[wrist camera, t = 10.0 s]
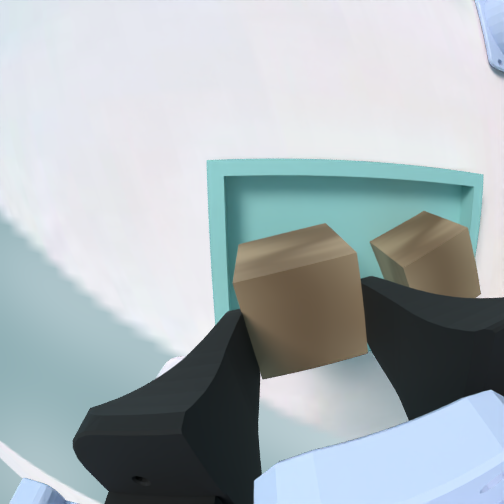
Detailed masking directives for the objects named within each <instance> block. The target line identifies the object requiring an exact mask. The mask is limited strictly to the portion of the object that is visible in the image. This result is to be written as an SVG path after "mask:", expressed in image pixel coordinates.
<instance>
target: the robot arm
mask: <svg viewBox="0 0 504 504" xmlns="http://www.w3.org/2000/svg"><path fill="white" fill-rule="evenodd" d="M475 3H476V6H477V10H478V14H479V18H480V22H481V26H482V30H483V34H484V39H485V44H486V49H487V55H488V60H489V63H490V65H491V66H492V67H494V68H496V69H498V70H500V71H503V72H504V0H475ZM498 62H499V63H498ZM361 288H362V297H363V306H364V315H365V326H366V337H367V343H368V345H369V348H370V349H371V351H372V353H373V354H374V356H375V358H376V359H377V361H378V362H379V364H380V366H381V367H382V369H383V370H384V372H385V374H386V375H387V377H388V379H389V380H390V382H391V383H392V385H393V387H394V388H395V390H396V392H397V394H398V396H399V398H400V400H401V403H402V405H403V407H404V410H405V412H406V414H407V417H408V419H409V421H408V422H405V423H402V424H399V425H397V426H394V427H391V428H388V429H385V430H382V431H379V432H376V433H373V434H370V435H367V436H364V437H360V438H357V439H353V440H350V441H346V442H343V443H339V444H335V445H331V446H327V447H323V448H319V449H315V450H311V451H308V452H305V453H303V454H300V455H297V456H294V457H291V458H288V459H285V460H282V461H279V462H278V463H276V464H275V465H274V466H272V467H271V468H270V469H269V470H267V471H266V472H265V473H263V474H262V472H261V461H260V450H259V438H258V414H259V394H260V368H259V365H258V362H257V359H256V356H255V353H254V349H253V346H252V343H251V340H250V337H249V334H248V330H247V327H246V324H245V321H244V317H243V314H242V312H241V310H240V309H236V310H232V311H228V312H226V313H225V315H224V316H223V317H222V318H221V319H220V320H219V322H218V323H217V324H216V325H215V326H214V328H213V329H212V330H211V331H210V332H209V333H208V335H207V336H206V337H205V338H204V339H203V340H202V341H201V342H200V343H199V344H198V345H197V346H196V347H195V348H194V349H193V350H192V351H191V352H190V353H189V354H188V355H187V356H186V357H185V358H184V359H182V360H181V361H180V362H179V363H177V364H176V365H175V366H174V367H172V368H171V369H170V370H168V371H167V372H165V373H164V374H162V375H161V376H159V377H158V378H156V379H155V380H153V381H151V382H150V383H148V384H146V385H145V386H143V387H141V388H139V389H137V390H135V391H133V392H131V393H129V394H127V395H125V396H123V397H120V398H118V399H115V400H112V401H109V402H107V403H104V404H101V405H98V406H95V407H92V408H90V409H89V411H88V413H87V415H86V417H85V419H84V420H83V422H82V424H81V426H80V428H79V430H78V432H77V433H76V435H75V437H74V439H73V449H74V451H75V454H76V455H77V458H78V459H79V461H80V462H81V463H82V464H83V466H84V467H85V468H86V469H87V470H88V471H89V472H90V473H91V474H92V475H93V476H94V477H95V478H96V479H97V480H98V481H99V482H100V483H101V484H102V485H103V486H104V487H105V488H106V489H107V490H108V491H109V492H108V495H107V498H106V501H105V504H504V297H502V298H461V297H452V296H445V295H439V294H434V293H429V292H425V291H421V290H417V289H414V288H410V287H407V286H403V285H400V284H397V283H394V282H391V281H388V280H385V279H382V278H378V277H374V276H368V277H365V278H361ZM9 504H78V503H74V502H70V501H66V500H65V499H64V497H63V496H62V495H61V494H60V493H58V492H57V491H56V490H55V489H53V488H52V487H50V486H49V485H46V484H44V483H41V482H37V481H34V480H31V479H27V478H23V479H22V481H21V483H20V484H19V486H18V488H17V490H16V492H15V494H14V496H13V497H12V499H11V501H10V503H9Z"/></svg>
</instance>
